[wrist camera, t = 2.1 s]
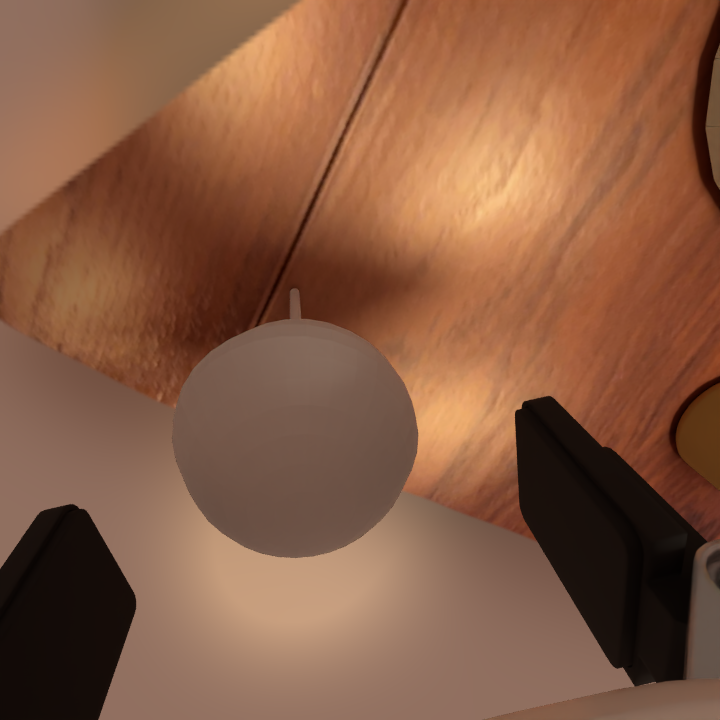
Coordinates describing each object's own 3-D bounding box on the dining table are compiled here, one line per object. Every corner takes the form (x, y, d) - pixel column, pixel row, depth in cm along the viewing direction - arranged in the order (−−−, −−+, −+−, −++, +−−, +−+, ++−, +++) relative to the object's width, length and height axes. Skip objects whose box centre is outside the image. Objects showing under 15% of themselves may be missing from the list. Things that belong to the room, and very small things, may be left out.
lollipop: (204, 300, 23) (79, 545, 9) (279, 200, 21) (263, 318, 8) (307, 371, 25) (328, 649, 11) (381, 285, 23) (506, 488, 10)
